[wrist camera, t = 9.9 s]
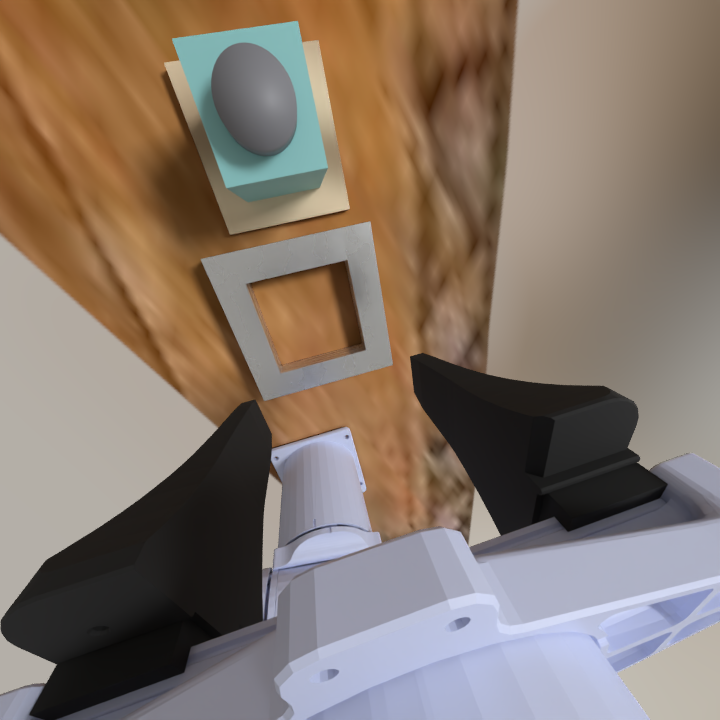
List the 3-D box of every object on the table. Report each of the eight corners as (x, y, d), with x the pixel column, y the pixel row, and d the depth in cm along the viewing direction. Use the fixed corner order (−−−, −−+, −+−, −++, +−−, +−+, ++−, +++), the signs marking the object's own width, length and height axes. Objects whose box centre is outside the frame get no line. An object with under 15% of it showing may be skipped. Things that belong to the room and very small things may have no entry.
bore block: (387, 357, 24) (392, 364, 22) (266, 391, 23) (264, 401, 21) (365, 222, 19) (370, 221, 17) (208, 257, 18) (200, 259, 16)
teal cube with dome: (319, 187, 17) (330, 162, 11) (247, 202, 16) (220, 183, 11) (298, 92, 15) (297, -1, 9) (215, 105, 14) (158, 18, 9)
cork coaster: (348, 209, 18) (349, 208, 18) (231, 234, 17) (230, 234, 17) (317, 46, 15) (318, 40, 14) (168, 68, 14) (163, 62, 13)
